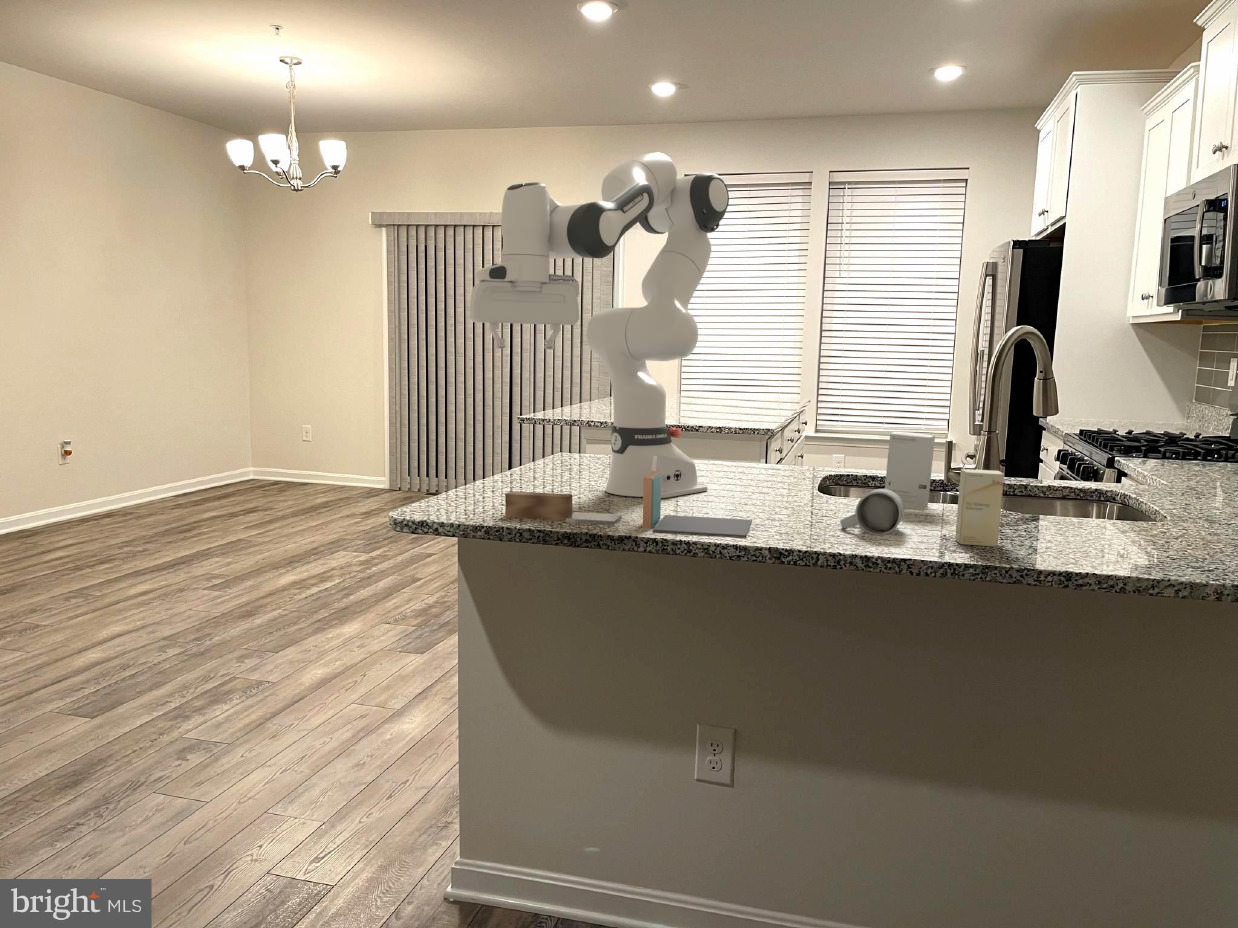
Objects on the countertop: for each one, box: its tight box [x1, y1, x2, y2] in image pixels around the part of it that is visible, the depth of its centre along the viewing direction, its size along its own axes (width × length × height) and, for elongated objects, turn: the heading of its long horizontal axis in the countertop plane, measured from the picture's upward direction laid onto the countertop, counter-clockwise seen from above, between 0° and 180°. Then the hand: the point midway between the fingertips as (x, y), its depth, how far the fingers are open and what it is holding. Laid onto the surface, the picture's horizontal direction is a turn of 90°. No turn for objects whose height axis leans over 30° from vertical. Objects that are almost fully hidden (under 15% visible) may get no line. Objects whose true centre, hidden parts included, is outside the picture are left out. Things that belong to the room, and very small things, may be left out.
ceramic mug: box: [839, 488, 905, 537], centre depth 159 cm, size 11×8×8 cm
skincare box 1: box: [884, 431, 936, 511], centre depth 180 cm, size 8×6×15 cm
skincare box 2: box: [954, 468, 1005, 547], centre depth 150 cm, size 6×4×12 cm
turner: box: [504, 490, 623, 526], centre depth 165 cm, size 21×6×4 cm, turn 77°
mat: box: [652, 514, 753, 538], centre depth 160 cm, size 16×13×1 cm
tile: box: [642, 471, 662, 530], centre depth 161 cm, size 2×8×9 cm, turn 168°
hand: (524, 349), depth 168 cm, fingers open, 8 cm apart
